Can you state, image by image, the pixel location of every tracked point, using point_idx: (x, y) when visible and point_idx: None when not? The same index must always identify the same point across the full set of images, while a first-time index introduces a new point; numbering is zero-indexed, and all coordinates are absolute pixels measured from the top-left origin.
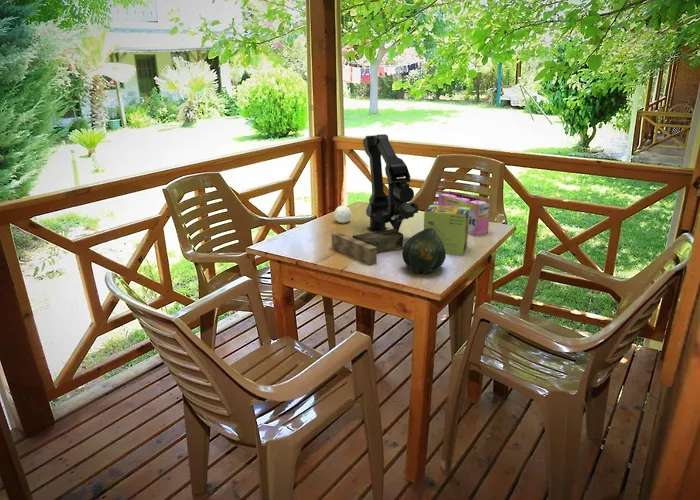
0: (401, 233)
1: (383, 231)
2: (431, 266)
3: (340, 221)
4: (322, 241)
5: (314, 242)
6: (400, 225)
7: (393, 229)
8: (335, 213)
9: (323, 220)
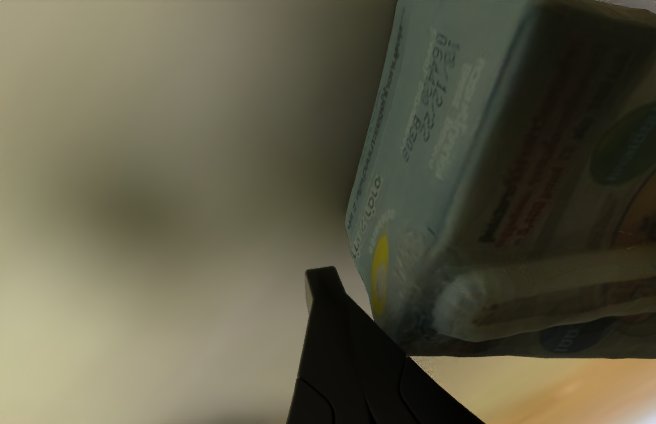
0: (541, 63)
1: (609, 329)
2: None
3: None
4: (619, 417)
5: (651, 419)
6: (299, 384)
7: (485, 316)
8: None
9: None
